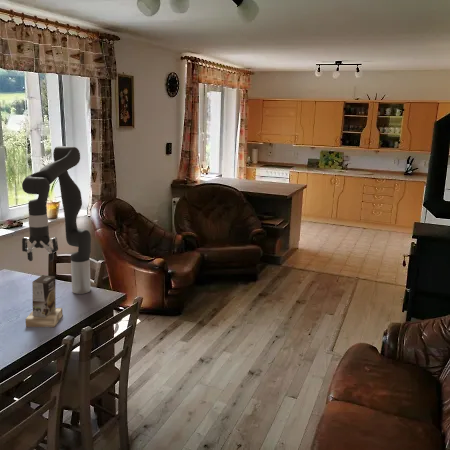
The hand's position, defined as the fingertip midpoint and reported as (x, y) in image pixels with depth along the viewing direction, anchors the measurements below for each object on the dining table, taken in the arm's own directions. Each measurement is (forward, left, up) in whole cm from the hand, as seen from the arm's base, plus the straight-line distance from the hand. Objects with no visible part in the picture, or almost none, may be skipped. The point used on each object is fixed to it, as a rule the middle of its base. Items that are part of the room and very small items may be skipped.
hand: (41, 260), depth 193 cm
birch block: (0, 0, -29) cm, 29 cm away
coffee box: (0, 0, -25) cm, 25 cm away
